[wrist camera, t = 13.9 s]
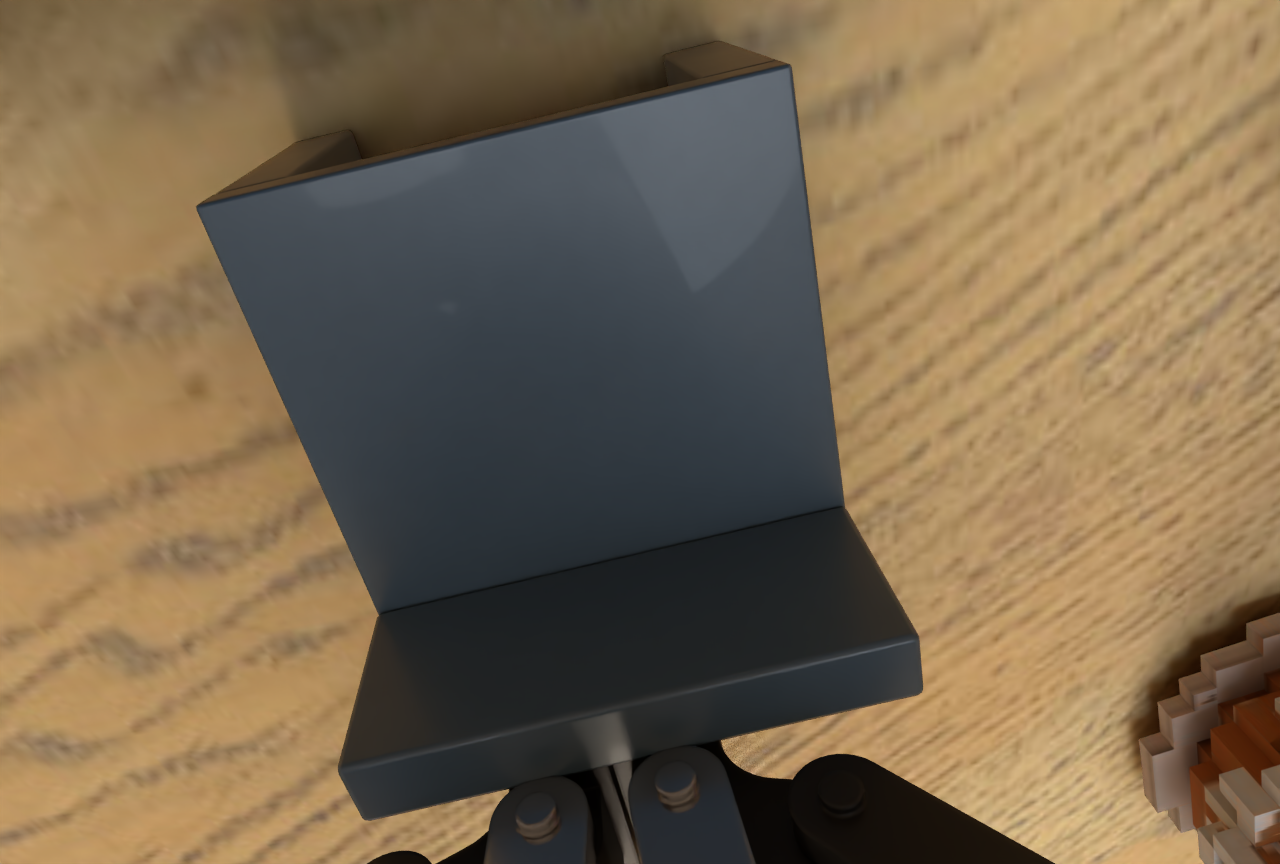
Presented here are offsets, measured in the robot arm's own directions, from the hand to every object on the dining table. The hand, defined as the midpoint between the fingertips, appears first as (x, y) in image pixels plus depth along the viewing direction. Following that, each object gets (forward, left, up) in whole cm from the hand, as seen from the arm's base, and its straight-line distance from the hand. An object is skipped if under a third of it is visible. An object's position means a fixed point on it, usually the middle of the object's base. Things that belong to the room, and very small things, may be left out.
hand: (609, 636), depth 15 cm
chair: (0, +5, -4) cm, 6 cm away
